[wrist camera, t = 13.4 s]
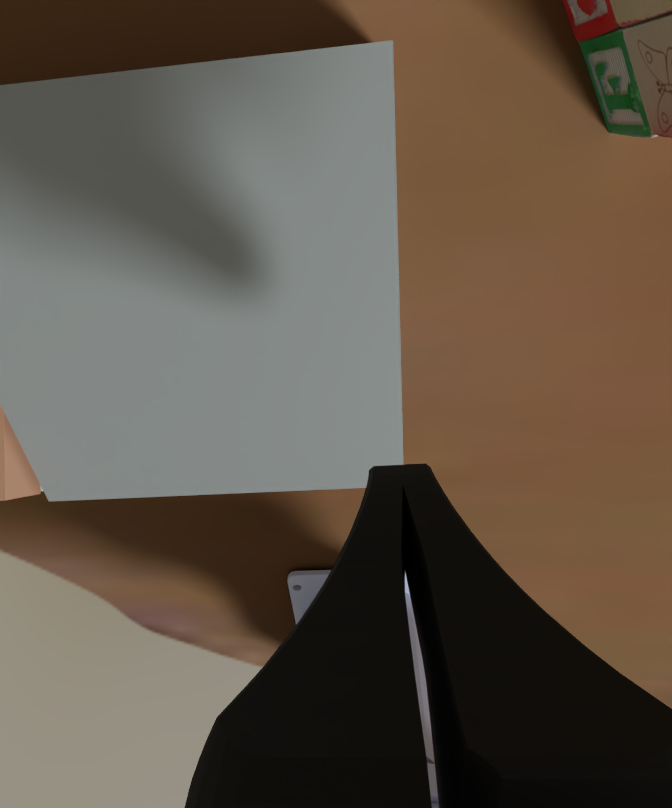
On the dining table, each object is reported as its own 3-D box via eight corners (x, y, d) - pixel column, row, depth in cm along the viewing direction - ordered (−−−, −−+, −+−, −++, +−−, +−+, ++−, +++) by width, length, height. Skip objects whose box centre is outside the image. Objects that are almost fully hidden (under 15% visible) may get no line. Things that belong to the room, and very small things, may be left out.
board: (397, 430, 23) (403, 486, 20) (92, 446, 24) (48, 501, 21) (385, 57, 16) (392, 40, 12) (-48, 105, 17) (-151, 102, 14)
